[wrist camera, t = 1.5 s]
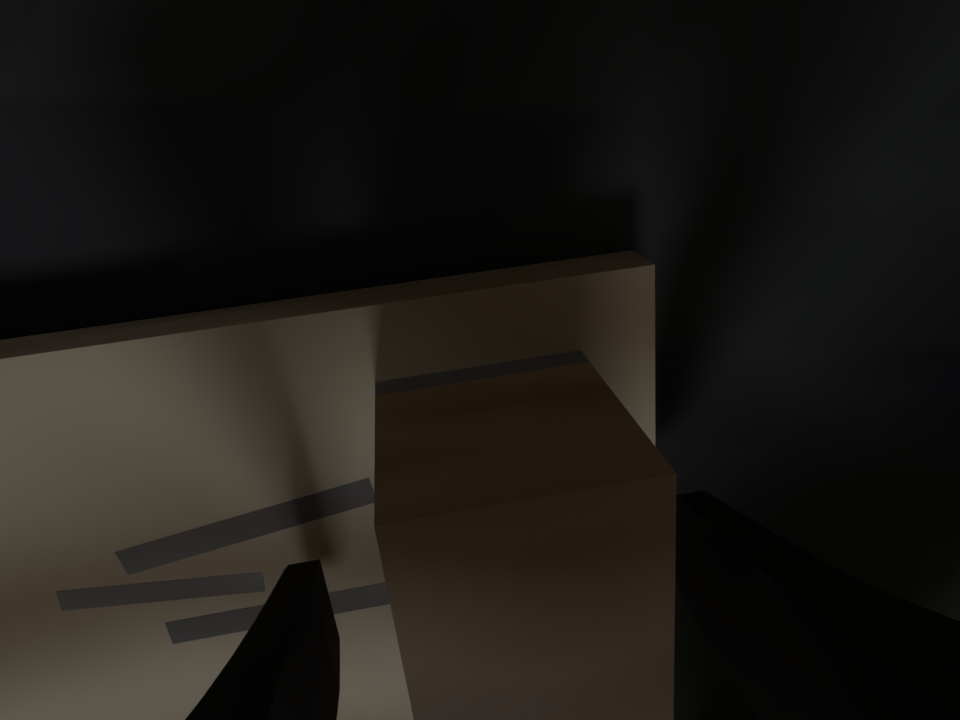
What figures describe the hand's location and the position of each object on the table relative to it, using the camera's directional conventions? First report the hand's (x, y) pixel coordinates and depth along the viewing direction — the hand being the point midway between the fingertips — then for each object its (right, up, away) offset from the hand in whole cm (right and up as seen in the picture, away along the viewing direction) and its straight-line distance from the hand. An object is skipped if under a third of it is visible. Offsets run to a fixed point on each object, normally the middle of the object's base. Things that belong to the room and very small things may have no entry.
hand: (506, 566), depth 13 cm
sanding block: (0, 0, +1) cm, 1 cm away
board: (-5, 0, +2) cm, 5 cm away
